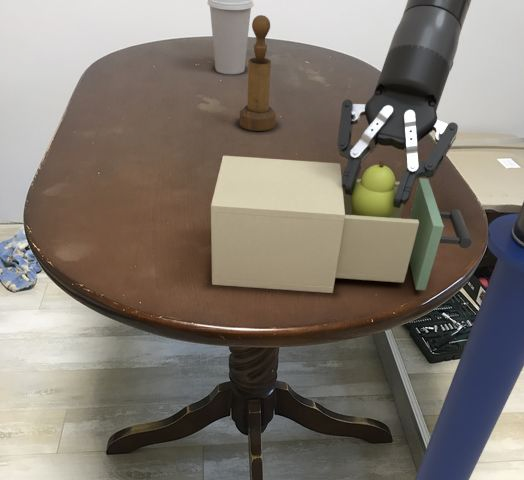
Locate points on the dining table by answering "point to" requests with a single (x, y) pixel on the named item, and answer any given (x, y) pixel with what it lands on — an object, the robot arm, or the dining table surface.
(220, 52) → the coffee cup
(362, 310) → the dining table surface
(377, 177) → the pear
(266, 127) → the mortar and pestle
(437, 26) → the robot arm
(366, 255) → the drawer
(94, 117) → the dining table surface
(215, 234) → the cabinet
